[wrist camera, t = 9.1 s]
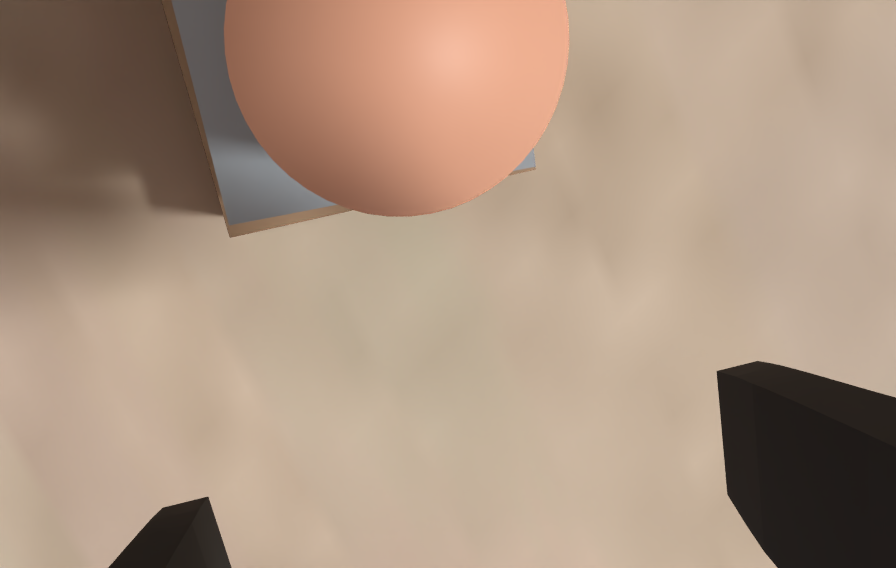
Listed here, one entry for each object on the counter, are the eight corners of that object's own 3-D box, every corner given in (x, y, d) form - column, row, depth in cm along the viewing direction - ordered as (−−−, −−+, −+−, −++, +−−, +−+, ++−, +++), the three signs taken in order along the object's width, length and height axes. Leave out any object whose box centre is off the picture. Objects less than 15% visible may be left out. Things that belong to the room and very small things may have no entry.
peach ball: (293, 196, 16) (295, 259, 11) (203, -52, 14) (166, -85, 10) (518, 122, 16) (601, 157, 12) (453, -128, 14) (522, -191, 10)
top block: (239, 198, 18) (228, 225, 16) (165, -102, 16) (140, -121, 14) (507, 147, 19) (535, 167, 16) (467, -148, 17) (492, -174, 14)
